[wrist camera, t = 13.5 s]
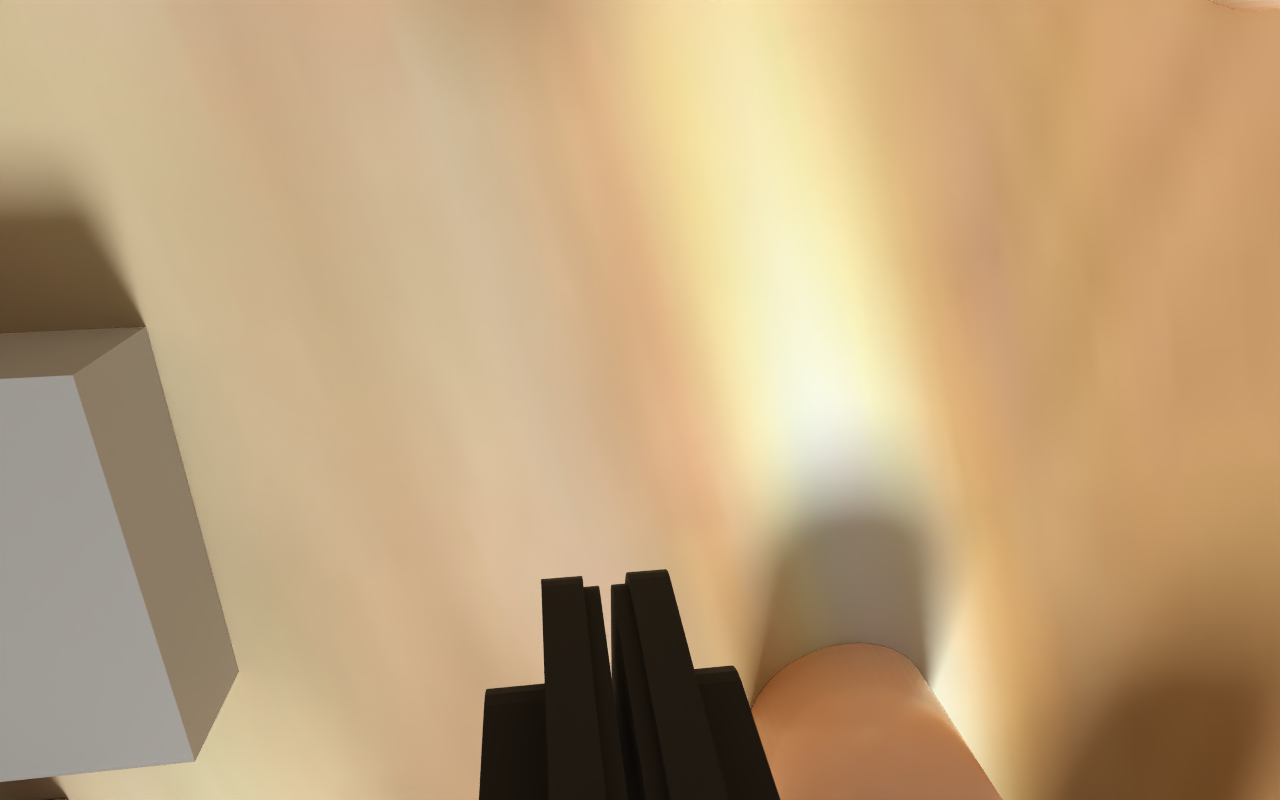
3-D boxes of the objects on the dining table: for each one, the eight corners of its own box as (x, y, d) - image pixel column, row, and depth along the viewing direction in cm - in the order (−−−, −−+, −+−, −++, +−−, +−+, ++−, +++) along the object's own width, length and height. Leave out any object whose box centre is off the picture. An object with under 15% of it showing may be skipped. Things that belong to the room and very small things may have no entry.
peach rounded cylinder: (752, 651, 24) (818, 826, 18) (939, 634, 24) (1056, 797, 19) (743, 794, 26) (798, 987, 21) (914, 775, 27) (1012, 956, 21)
